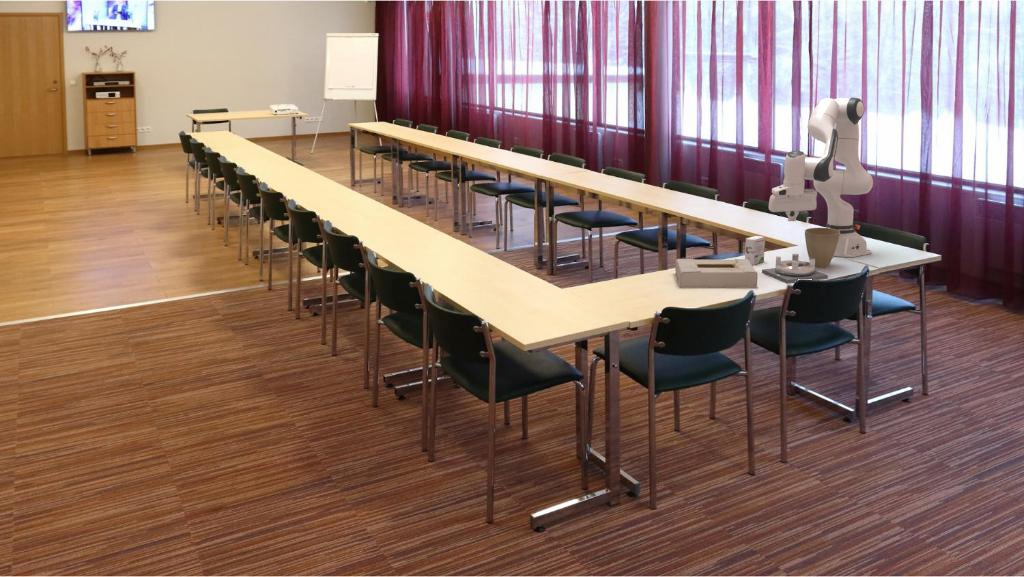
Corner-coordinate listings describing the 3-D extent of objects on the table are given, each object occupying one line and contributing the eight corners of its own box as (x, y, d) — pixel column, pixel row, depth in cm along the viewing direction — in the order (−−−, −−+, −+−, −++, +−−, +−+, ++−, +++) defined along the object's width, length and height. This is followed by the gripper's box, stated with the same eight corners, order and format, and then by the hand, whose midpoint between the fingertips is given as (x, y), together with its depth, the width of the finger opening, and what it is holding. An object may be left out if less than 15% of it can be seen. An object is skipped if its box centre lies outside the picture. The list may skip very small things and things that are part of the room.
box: (748, 274, 416) (674, 274, 418) (749, 257, 414) (675, 257, 416) (758, 289, 394) (679, 289, 396) (759, 271, 391) (680, 271, 394)
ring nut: (818, 269, 412) (819, 256, 410) (808, 278, 399) (809, 264, 397) (781, 265, 420) (782, 252, 419) (770, 273, 407) (771, 260, 405)
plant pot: (795, 264, 429) (797, 229, 425) (822, 260, 434) (825, 226, 430) (816, 271, 416) (819, 235, 412) (844, 268, 421) (847, 232, 417)
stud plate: (801, 268, 422) (801, 264, 421) (827, 278, 404) (828, 274, 404) (761, 272, 416) (762, 269, 415) (787, 283, 398) (787, 279, 398)
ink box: (755, 260, 438) (756, 235, 435) (764, 262, 434) (765, 236, 431) (744, 263, 433) (745, 238, 430) (753, 265, 429) (754, 239, 426)
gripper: (814, 187, 413) (812, 218, 417) (768, 189, 412) (766, 220, 416) (820, 189, 407) (818, 221, 411) (772, 191, 406) (771, 223, 410)
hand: (791, 220), depth 414 cm, fingers closed
